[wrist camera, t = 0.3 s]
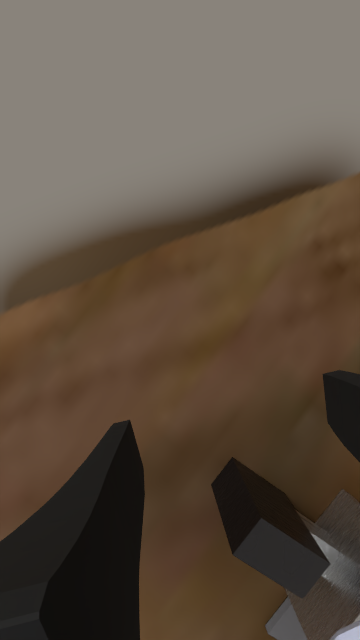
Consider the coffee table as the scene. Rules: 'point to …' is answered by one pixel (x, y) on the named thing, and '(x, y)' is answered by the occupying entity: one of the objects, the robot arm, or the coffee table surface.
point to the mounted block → (295, 547)
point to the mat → (285, 624)
